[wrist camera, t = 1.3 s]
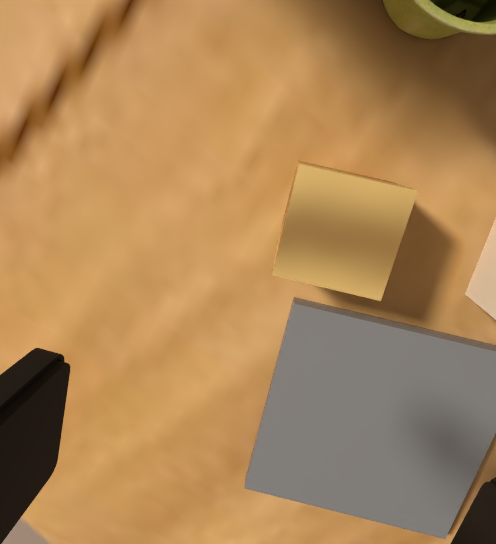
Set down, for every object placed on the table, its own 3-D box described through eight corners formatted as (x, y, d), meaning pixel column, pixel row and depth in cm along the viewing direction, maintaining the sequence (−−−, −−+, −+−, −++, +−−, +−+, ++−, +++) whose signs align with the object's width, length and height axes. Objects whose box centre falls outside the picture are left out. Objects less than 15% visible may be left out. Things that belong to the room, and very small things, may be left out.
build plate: (293, 297, 29) (294, 303, 28) (521, 351, 28) (531, 359, 27) (245, 476, 34) (244, 488, 33) (439, 525, 33) (445, 539, 32)
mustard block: (297, 160, 26) (299, 163, 21) (390, 181, 26) (418, 190, 20) (276, 249, 28) (272, 275, 22) (362, 270, 28) (380, 301, 22)
